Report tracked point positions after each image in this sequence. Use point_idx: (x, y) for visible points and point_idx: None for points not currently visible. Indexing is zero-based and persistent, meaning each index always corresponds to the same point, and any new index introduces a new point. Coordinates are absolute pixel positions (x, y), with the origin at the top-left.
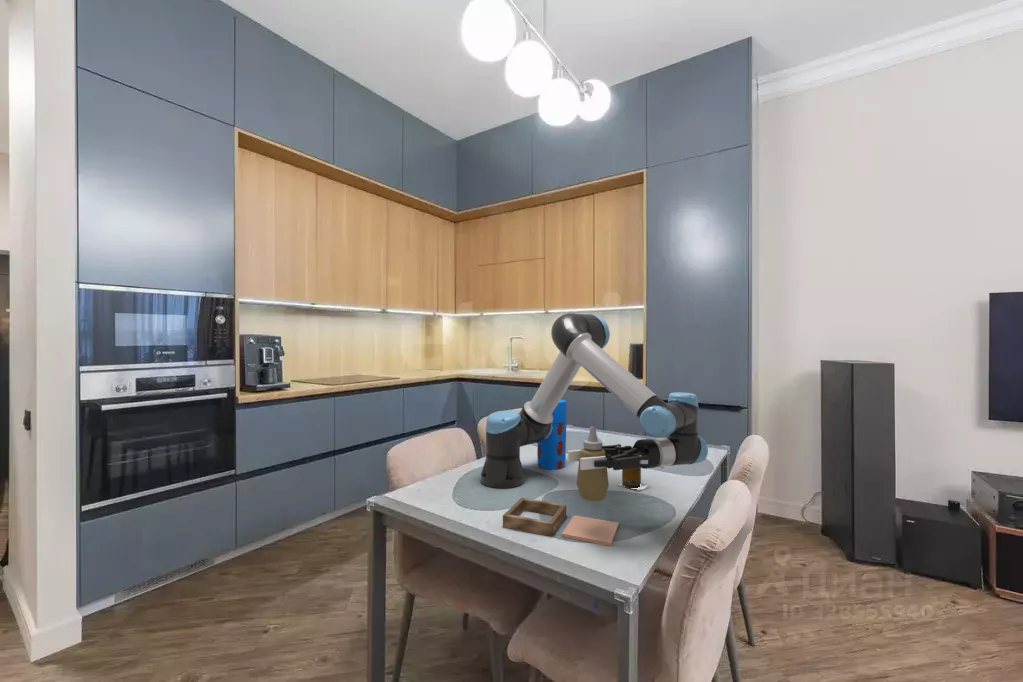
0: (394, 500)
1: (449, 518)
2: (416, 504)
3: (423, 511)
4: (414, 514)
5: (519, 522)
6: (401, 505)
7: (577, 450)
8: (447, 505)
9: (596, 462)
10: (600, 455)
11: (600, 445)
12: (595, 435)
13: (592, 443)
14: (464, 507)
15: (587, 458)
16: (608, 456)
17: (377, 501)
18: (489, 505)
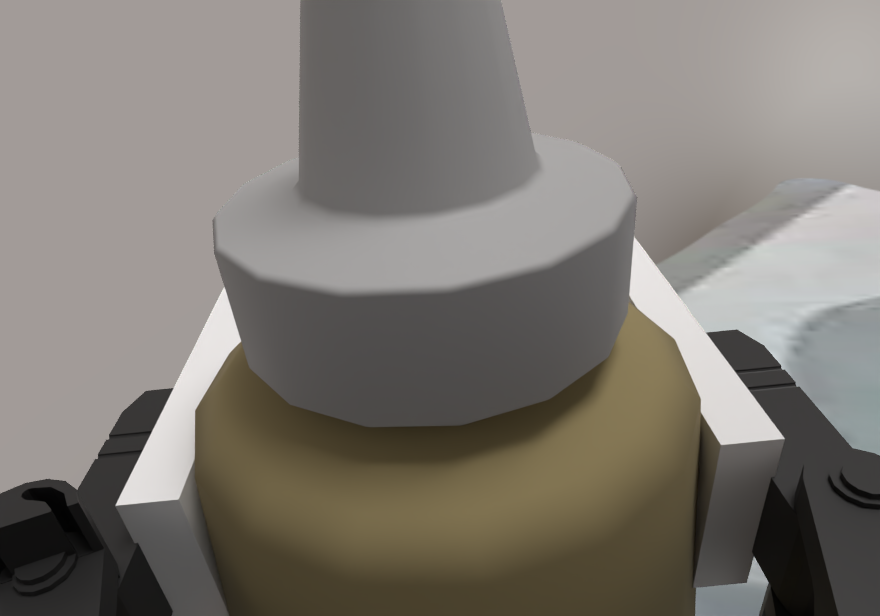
0: (813, 200)
1: (683, 292)
2: (794, 232)
3: (735, 247)
4: (706, 235)
5: None
6: (774, 212)
7: (644, 281)
8: (811, 285)
9: (144, 402)
10: (195, 428)
11: (230, 302)
12: (301, 35)
13: (269, 172)
14: (805, 322)
15: (220, 295)
16: (7, 510)
17: (792, 181)
18: (863, 391)
